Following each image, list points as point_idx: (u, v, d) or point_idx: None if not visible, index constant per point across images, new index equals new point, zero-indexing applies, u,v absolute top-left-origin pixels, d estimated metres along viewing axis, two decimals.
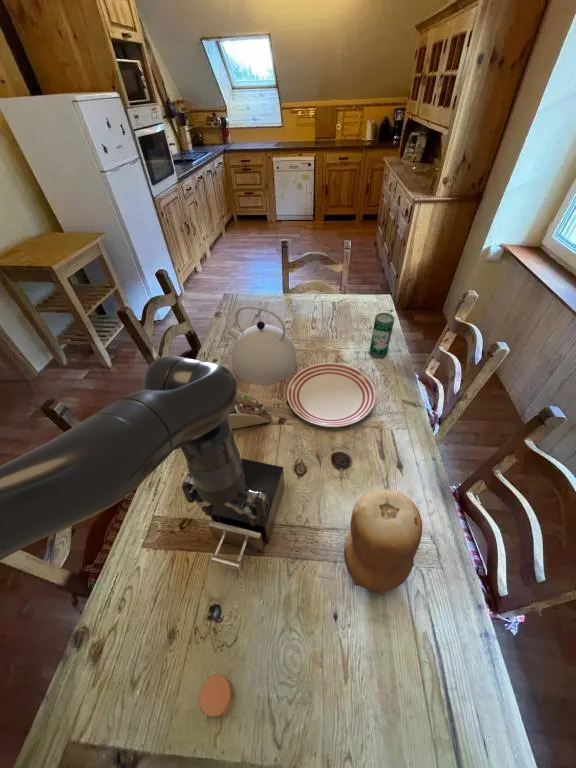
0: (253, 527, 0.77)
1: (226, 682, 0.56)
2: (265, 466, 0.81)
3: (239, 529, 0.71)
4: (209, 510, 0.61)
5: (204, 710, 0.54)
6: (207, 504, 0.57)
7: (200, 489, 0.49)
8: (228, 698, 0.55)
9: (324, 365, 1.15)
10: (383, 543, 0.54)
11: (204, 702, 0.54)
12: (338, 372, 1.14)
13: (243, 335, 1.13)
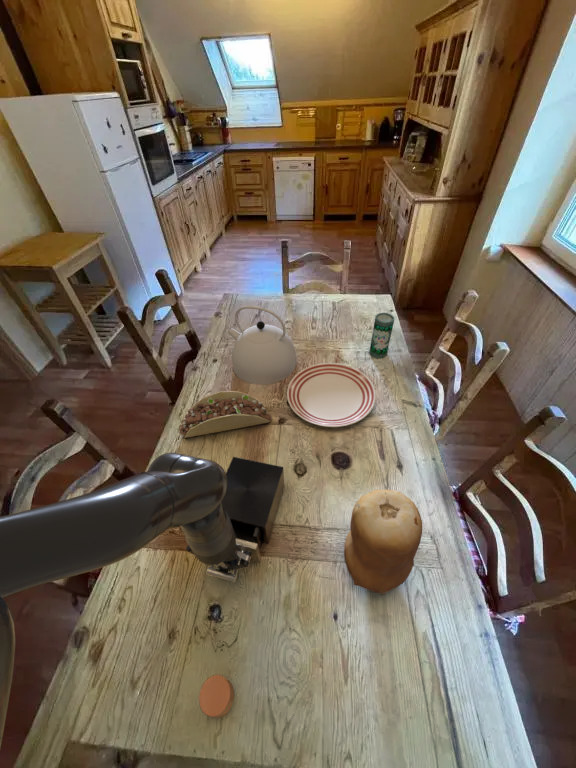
0: (250, 537, 0.76)
1: (226, 682, 0.56)
2: (265, 466, 0.81)
3: None
4: (223, 568, 0.68)
5: (204, 710, 0.54)
6: None
7: (195, 553, 0.56)
8: (228, 698, 0.55)
9: (324, 365, 1.15)
10: (383, 543, 0.54)
11: (204, 702, 0.54)
12: (338, 372, 1.14)
13: (243, 335, 1.13)
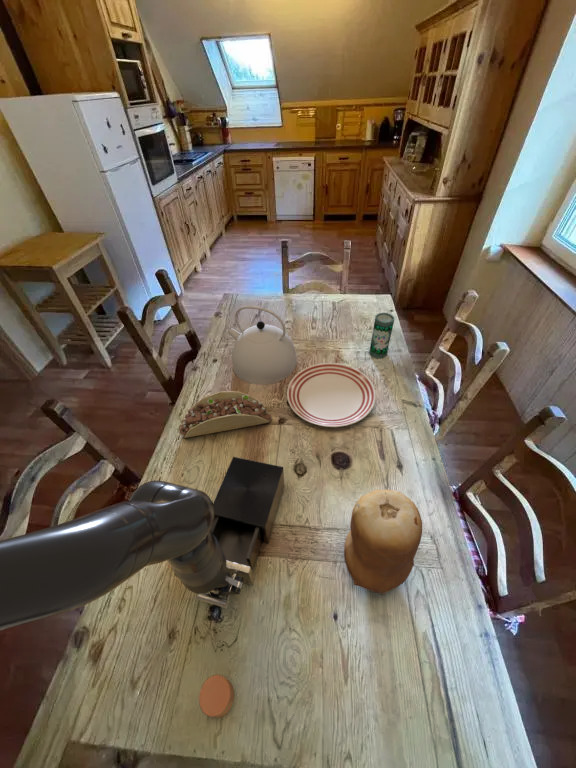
0: (243, 557, 0.73)
1: (226, 682, 0.56)
2: (265, 466, 0.81)
3: (227, 562, 0.66)
4: None
5: (204, 710, 0.54)
6: None
7: (183, 583, 0.53)
8: (228, 698, 0.55)
9: (324, 365, 1.15)
10: (383, 543, 0.54)
11: (204, 702, 0.54)
12: (338, 372, 1.14)
13: (243, 335, 1.13)
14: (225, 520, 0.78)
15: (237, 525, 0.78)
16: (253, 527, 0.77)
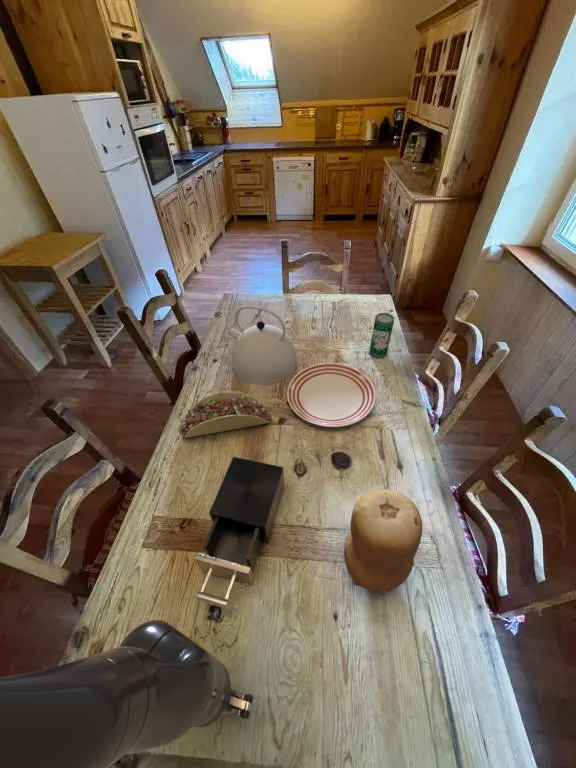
0: (243, 558, 0.73)
1: None
2: (265, 466, 0.81)
3: (227, 563, 0.66)
4: None
5: None
6: None
7: None
8: None
9: (324, 365, 1.15)
10: (383, 543, 0.54)
11: None
12: (338, 372, 1.14)
13: (243, 335, 1.13)
14: (225, 520, 0.78)
15: (236, 525, 0.78)
16: (253, 527, 0.77)
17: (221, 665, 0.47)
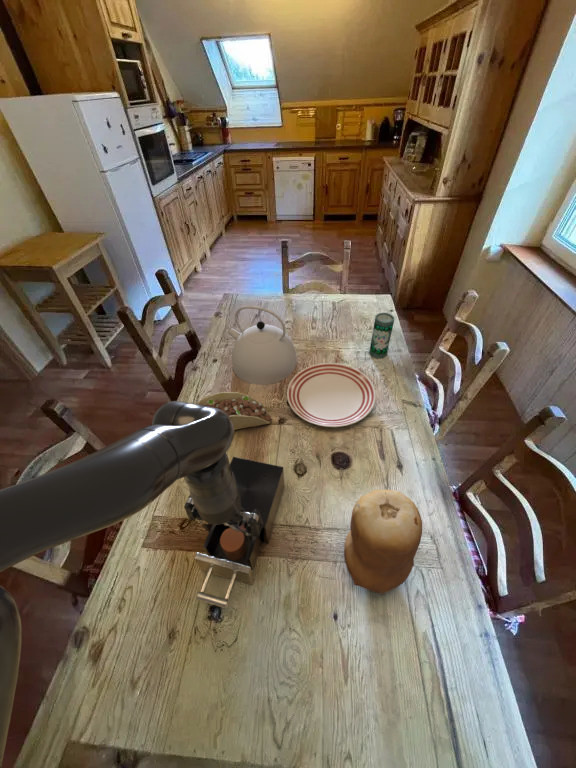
0: (243, 558, 0.73)
1: None
2: (265, 466, 0.81)
3: (227, 563, 0.66)
4: (208, 527, 0.67)
5: (224, 547, 0.69)
6: (207, 522, 0.63)
7: (200, 511, 0.55)
8: (242, 540, 0.70)
9: (324, 365, 1.15)
10: (383, 543, 0.54)
11: (224, 543, 0.70)
12: (338, 372, 1.14)
13: (243, 335, 1.13)
14: None
15: None
16: None
17: None
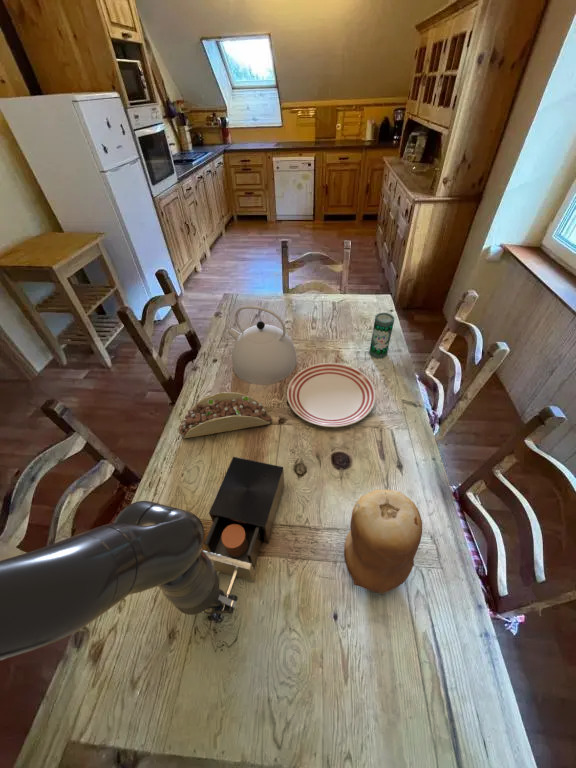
0: (244, 554, 0.73)
1: (242, 528, 0.72)
2: (265, 466, 0.81)
3: (228, 559, 0.67)
4: None
5: (225, 544, 0.70)
6: None
7: (173, 604, 0.50)
8: (244, 537, 0.71)
9: (324, 365, 1.15)
10: (383, 543, 0.54)
11: (225, 540, 0.71)
12: (338, 372, 1.14)
13: (243, 335, 1.13)
14: None
15: (238, 522, 0.78)
16: None
17: None
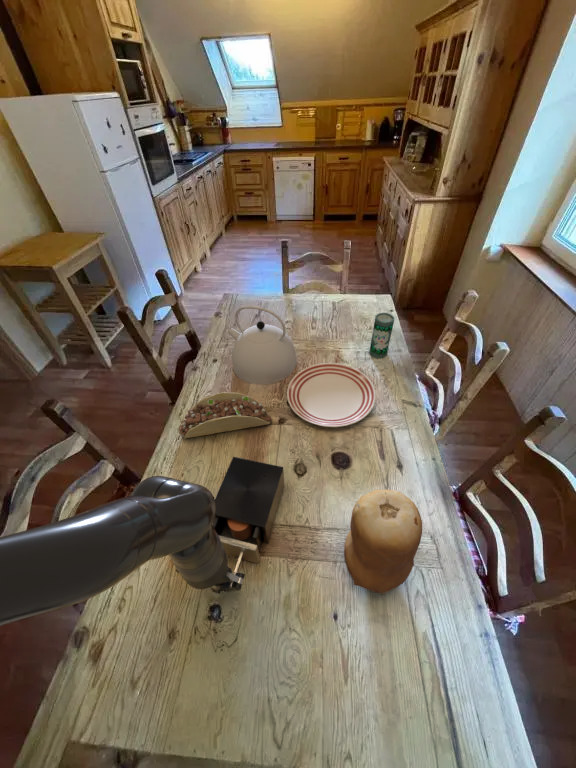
0: (249, 538, 0.76)
1: None
2: (265, 466, 0.81)
3: (235, 541, 0.69)
4: None
5: (232, 527, 0.72)
6: None
7: (184, 578, 0.53)
8: None
9: (324, 365, 1.15)
10: (383, 543, 0.54)
11: (231, 523, 0.73)
12: (338, 372, 1.14)
13: (243, 335, 1.13)
14: None
15: None
16: None
17: None
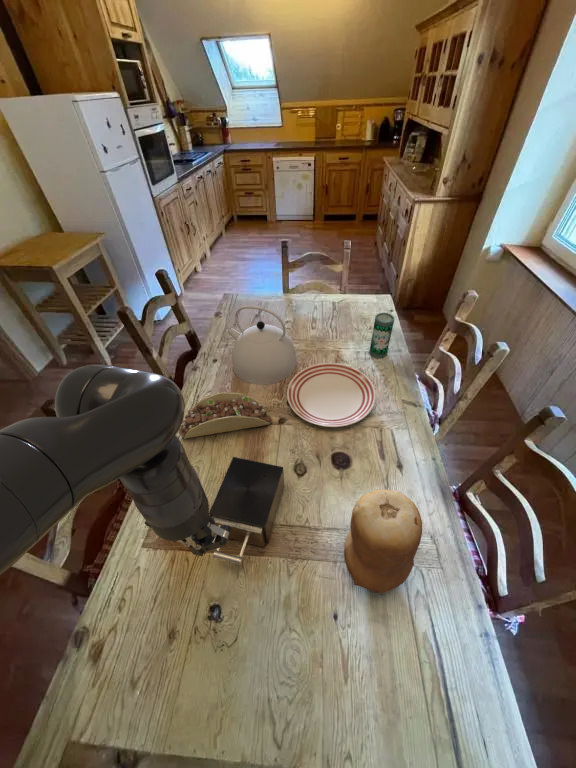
0: None
1: None
2: (265, 466, 0.81)
3: (241, 524, 0.72)
4: None
5: None
6: (179, 540, 0.48)
7: (149, 524, 0.40)
8: None
9: (324, 365, 1.15)
10: (383, 543, 0.54)
11: None
12: (338, 372, 1.14)
13: (243, 335, 1.13)
14: None
15: None
16: None
17: None
